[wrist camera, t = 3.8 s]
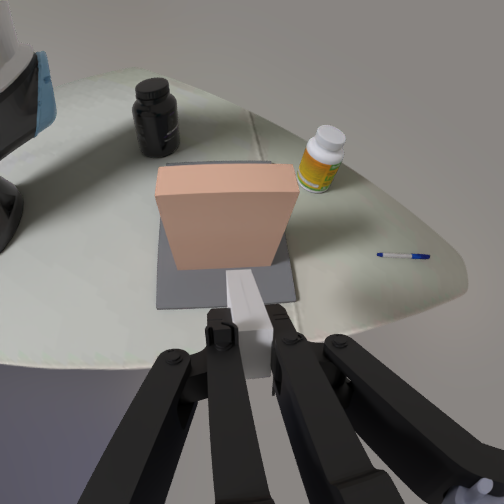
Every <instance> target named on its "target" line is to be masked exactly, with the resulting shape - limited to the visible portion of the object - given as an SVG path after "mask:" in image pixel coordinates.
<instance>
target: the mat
mask: <svg viewBox="0 0 504 504" xmlns="http://www.w3.org/2000/svg"><path fill="white" fill-rule="evenodd" d="M201 164H271V161H206V162H184V163H168V164H166V166H180V165H201ZM245 269H251V272H252V274H253V277H254V279H255V282H256V285H257V287H258V290H259V293H260V295H261V298H262V300H263V303H264V305H265V304H278V303H289V302H295V301H296V295H295V289H294V283H293V277H292V271H291V265H290V259H289V253H288V248H287V242H286V236H285V231H284V234H283V236H282V239H281V241H280V244H279V246H278V249H277V251H276V254H275V256H274V259H273V261H272V263H271V266H261V267H241V268H220V269H197V270H177V267H176V264H175V261H174V258H173V254H172V251H171V248H170V245H169V242H168V239H167V236H166V232H165V229H164V226H163V223H162V219H161V217H160V230H159V244H158V263H157V296H156V308H157V310H161V309H194V308H217V307H227V283H226V270H245Z"/></svg>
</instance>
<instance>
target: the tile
mask: <svg viewBox="0 0 504 504" xmlns="http://www.w3.org/2000/svg"><path fill="white" fill-rule="evenodd" d="M299 193H300V191H299V187H298V183H297V179H296V175H295V171H294V168H293V164H201V165H180V166H165V167H159V169H158V175H157V182H156V190H155V198H156V202H157V205H158V209H159V212H160V216H161V219H162V223H163V226H164V229H165V232H166V236H167V239H168V242H169V245H170V248H171V251H172V254H173V258H174V261H175V264H176V267H177V270H197V269H220V268H241V267H261V266H271V263H272V261H273V259H274V256H275V254H276V251H277V249H278V246H279V244H280V241H281V239H282V236H283V234H284V231H285V229H286V226H287V224H288V221H289V219H290V216H291V213H292V211H293V208H294V206H295V203H296V201H297V198H298V196H299Z"/></svg>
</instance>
